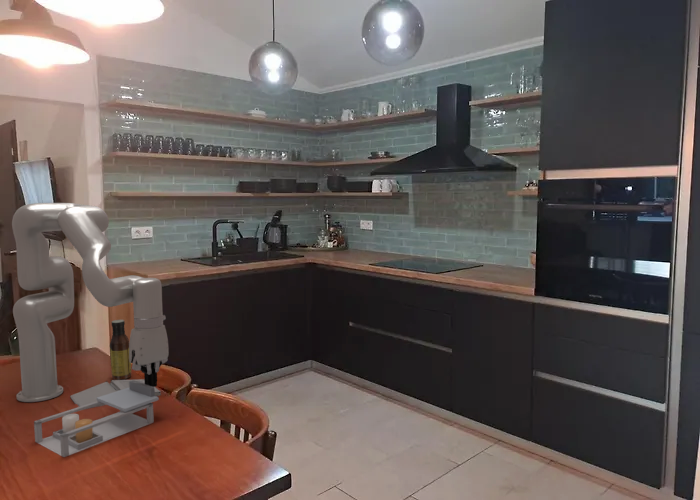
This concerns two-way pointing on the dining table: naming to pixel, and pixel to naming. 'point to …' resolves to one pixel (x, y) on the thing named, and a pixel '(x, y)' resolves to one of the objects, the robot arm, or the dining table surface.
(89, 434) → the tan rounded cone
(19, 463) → the dining table surface
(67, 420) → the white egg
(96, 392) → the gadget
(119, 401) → the lid
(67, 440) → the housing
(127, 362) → the sauce bottle
